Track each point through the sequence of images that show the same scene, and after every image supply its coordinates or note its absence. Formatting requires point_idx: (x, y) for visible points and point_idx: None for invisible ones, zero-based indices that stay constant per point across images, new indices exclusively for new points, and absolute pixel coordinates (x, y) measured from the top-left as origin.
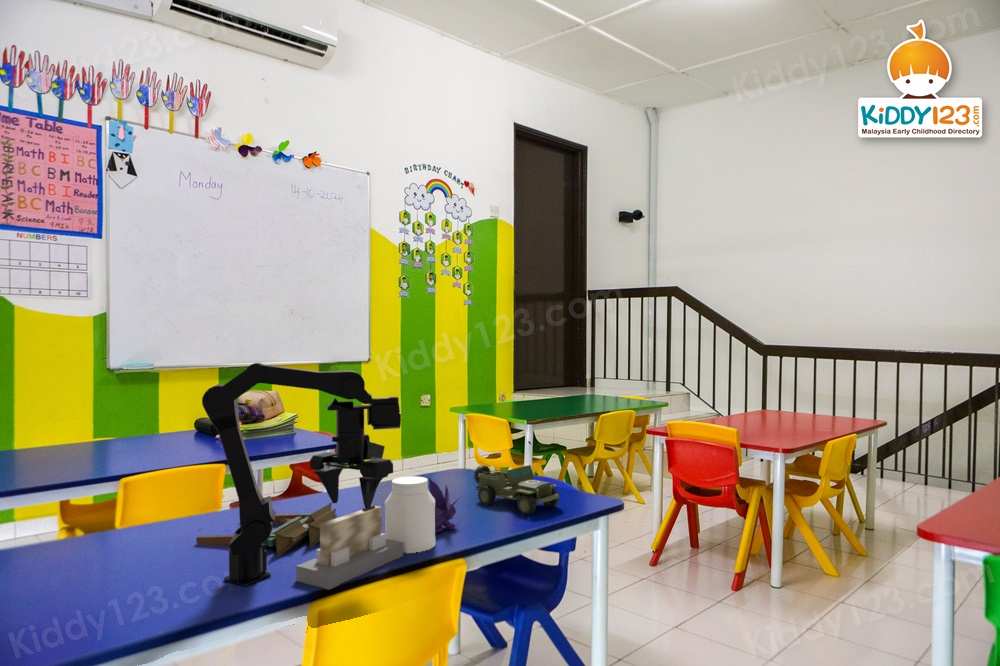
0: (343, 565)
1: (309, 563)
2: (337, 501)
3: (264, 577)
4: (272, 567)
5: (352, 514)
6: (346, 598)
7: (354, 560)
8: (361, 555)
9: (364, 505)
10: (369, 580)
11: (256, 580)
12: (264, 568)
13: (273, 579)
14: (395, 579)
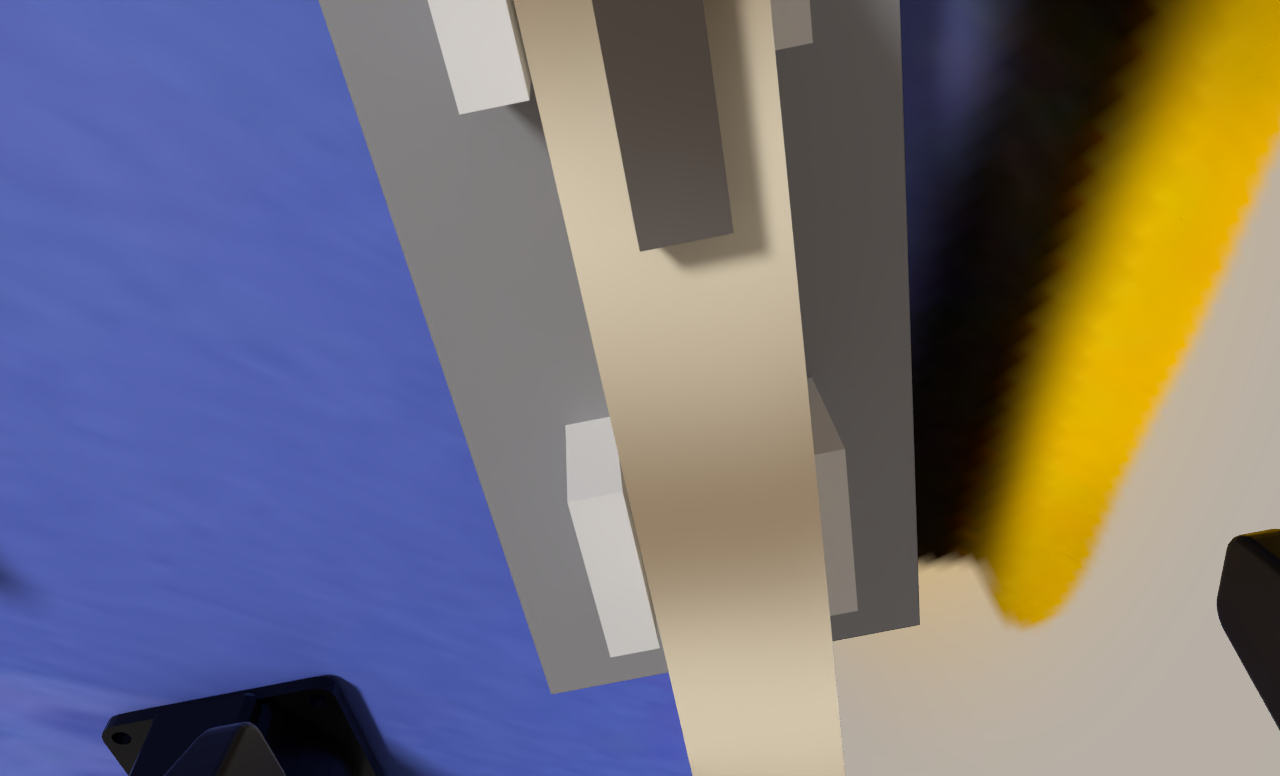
0: (872, 474)
1: (587, 619)
2: (245, 736)
3: (353, 720)
4: (129, 600)
5: (706, 502)
6: (1094, 536)
7: (854, 343)
8: (795, 211)
9: (1267, 698)
10: (1014, 260)
11: (373, 763)
12: (272, 734)
13: (400, 678)
14: (1216, 90)
